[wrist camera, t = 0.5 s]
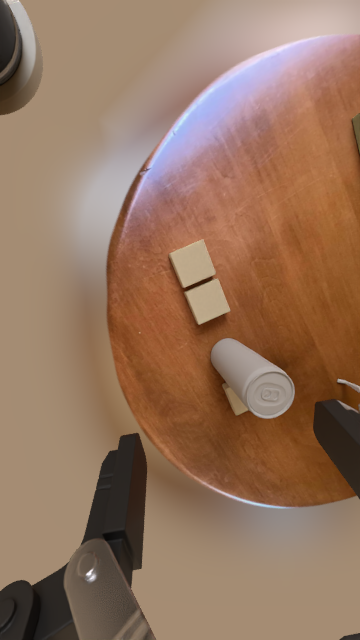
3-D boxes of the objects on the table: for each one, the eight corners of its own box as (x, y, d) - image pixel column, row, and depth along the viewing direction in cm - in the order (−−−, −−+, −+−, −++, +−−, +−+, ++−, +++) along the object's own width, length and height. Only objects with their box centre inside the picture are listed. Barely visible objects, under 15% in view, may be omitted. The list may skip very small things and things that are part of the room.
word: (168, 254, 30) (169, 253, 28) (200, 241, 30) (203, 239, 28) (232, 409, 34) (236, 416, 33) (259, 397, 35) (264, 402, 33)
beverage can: (213, 334, 32) (252, 365, 20) (246, 340, 33) (302, 373, 21) (206, 368, 33) (239, 417, 21) (238, 373, 34) (288, 423, 22)
